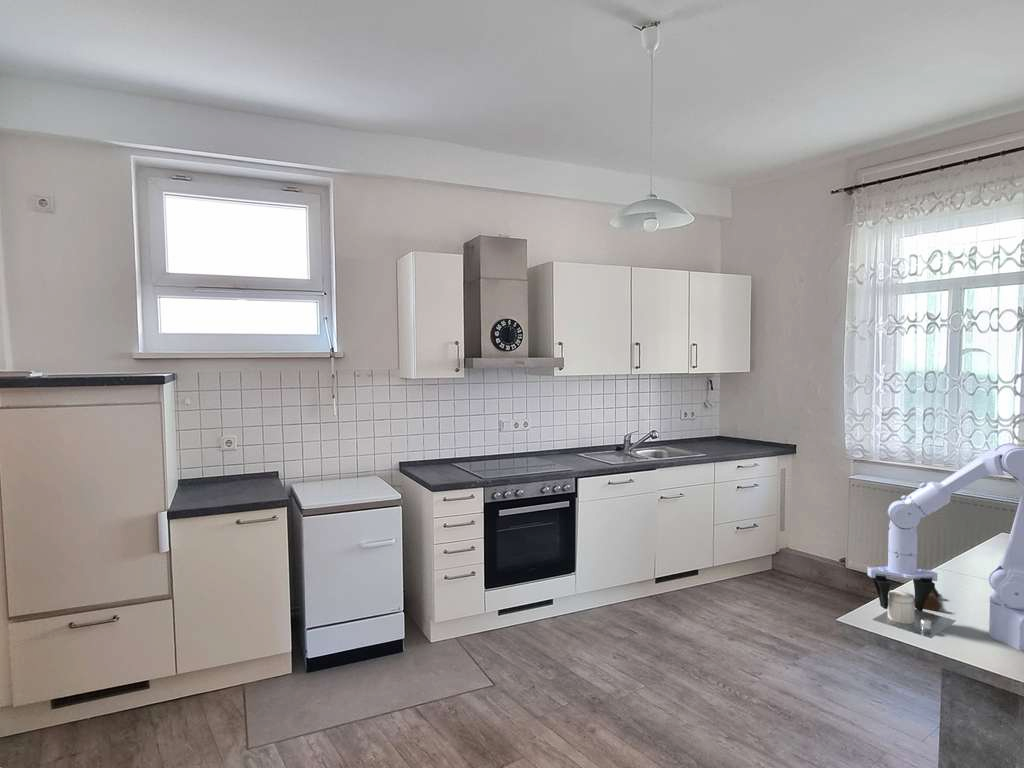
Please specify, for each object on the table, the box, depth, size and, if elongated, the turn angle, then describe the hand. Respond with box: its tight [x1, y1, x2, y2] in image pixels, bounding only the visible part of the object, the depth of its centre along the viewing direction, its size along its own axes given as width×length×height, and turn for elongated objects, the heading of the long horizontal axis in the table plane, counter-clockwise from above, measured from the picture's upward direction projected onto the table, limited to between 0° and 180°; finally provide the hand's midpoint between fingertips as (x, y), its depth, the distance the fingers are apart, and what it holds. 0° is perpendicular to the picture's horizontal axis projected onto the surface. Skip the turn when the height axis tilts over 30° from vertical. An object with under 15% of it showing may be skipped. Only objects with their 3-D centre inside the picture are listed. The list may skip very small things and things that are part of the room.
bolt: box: [914, 587, 942, 613], centre depth 151 cm, size 6×5×15 cm
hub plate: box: [871, 608, 957, 639], centre depth 139 cm, size 16×12×4 cm
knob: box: [887, 589, 916, 624], centre depth 139 cm, size 5×5×6 cm
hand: (901, 608), depth 139 cm, fingers open, 7 cm apart
